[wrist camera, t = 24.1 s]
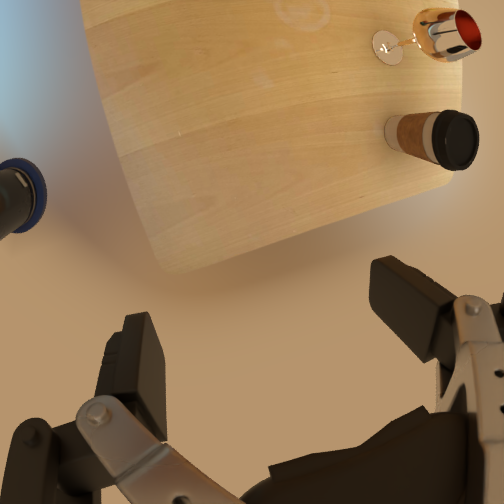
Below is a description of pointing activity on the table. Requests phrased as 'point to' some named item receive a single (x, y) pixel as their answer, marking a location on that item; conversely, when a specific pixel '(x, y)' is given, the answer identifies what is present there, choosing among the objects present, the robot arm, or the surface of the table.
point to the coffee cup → (435, 137)
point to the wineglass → (433, 36)
